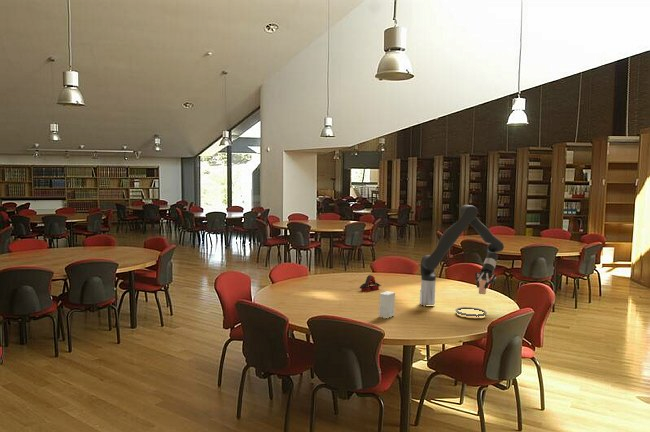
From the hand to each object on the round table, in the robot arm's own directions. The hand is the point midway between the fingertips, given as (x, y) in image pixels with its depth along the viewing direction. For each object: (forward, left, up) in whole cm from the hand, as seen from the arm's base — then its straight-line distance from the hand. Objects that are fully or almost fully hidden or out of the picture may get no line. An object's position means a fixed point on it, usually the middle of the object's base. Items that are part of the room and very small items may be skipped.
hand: (481, 287), depth 326 cm
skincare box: (-62, -19, -15) cm, 67 cm away
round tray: (-9, -10, -15) cm, 20 cm away
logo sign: (-67, +50, -15) cm, 85 cm away
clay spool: (+1, +2, -4) cm, 5 cm away
